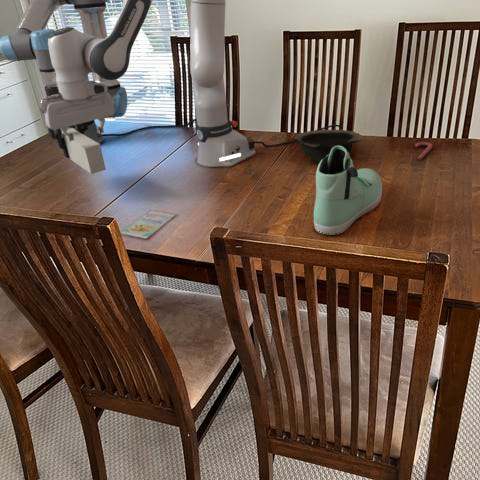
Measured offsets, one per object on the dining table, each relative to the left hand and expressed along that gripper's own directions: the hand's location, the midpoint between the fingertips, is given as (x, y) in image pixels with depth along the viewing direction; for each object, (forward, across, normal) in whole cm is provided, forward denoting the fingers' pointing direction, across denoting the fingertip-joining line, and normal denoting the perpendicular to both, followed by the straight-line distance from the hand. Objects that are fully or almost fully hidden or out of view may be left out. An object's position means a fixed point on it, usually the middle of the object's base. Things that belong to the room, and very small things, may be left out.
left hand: (75, 154), depth 161 cm
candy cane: (+11, +100, -66) cm, 120 cm away
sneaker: (+11, +50, -76) cm, 92 cm away
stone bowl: (+11, +76, -43) cm, 88 cm away
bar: (+1, 0, -8) cm, 8 cm away
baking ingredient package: (+11, +3, -42) cm, 44 cm away
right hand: (-10, 0, -16) cm, 19 cm away
